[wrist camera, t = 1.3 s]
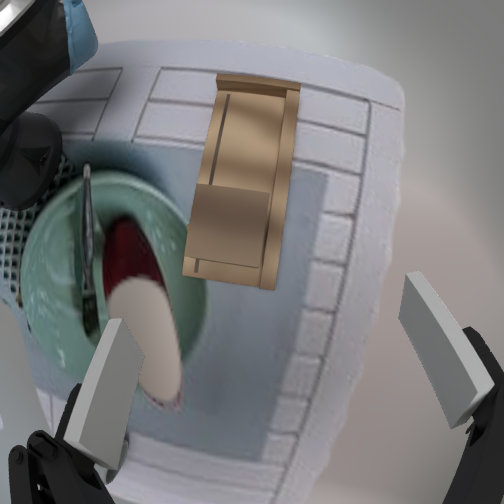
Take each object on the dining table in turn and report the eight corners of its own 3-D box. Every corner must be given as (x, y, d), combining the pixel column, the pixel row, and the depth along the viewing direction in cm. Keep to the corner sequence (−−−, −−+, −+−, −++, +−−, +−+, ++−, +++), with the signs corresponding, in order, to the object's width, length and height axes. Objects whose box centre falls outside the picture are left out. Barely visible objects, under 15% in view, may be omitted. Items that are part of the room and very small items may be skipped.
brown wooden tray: (272, 288, 34) (274, 290, 30) (184, 274, 34) (176, 275, 30) (296, 99, 36) (301, 83, 32) (220, 90, 36) (217, 73, 32)
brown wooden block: (257, 268, 33) (259, 267, 24) (188, 257, 33) (165, 253, 24) (265, 213, 33) (270, 192, 24) (197, 204, 33) (178, 181, 24)
